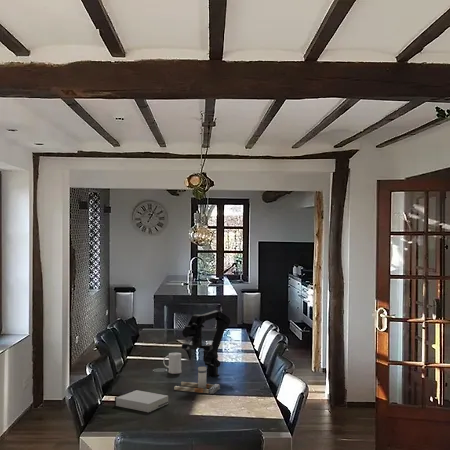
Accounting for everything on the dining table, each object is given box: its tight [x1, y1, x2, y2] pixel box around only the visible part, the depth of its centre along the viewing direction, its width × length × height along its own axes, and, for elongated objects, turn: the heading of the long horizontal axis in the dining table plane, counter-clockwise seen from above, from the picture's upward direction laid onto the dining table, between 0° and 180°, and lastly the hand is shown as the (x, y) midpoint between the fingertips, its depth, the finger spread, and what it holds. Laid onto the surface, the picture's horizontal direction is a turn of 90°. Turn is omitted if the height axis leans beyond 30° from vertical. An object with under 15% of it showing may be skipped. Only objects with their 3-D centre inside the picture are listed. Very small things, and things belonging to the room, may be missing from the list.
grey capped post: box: [197, 365, 207, 389], centre depth 343 cm, size 5×5×13 cm
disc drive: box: [114, 389, 169, 413], centre depth 315 cm, size 18×22×5 cm
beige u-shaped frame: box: [173, 381, 221, 394], centre depth 344 cm, size 24×11×2 cm, turn 72°
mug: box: [163, 352, 182, 375], centre depth 385 cm, size 12×8×12 cm
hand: (197, 360), depth 365 cm, fingers open, 9 cm apart
